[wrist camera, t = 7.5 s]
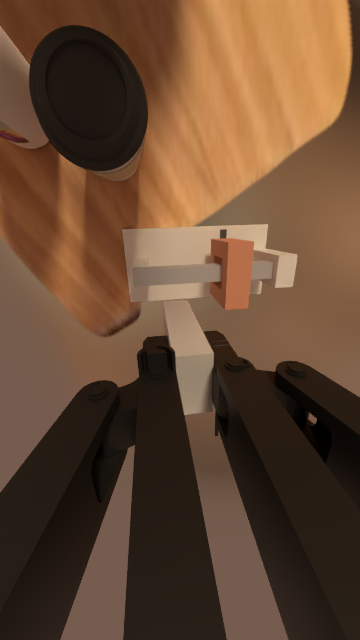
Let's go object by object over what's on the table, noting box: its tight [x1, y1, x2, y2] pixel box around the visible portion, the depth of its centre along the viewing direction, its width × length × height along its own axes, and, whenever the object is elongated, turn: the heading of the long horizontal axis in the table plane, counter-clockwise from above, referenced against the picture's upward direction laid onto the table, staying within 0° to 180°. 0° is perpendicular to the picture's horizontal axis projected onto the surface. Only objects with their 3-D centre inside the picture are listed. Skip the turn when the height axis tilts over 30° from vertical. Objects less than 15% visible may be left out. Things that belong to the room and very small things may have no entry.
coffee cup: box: [29, 25, 148, 181], centre depth 24 cm, size 9×9×15 cm
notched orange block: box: [210, 238, 254, 310], centre depth 31 cm, size 8×3×8 cm, turn 2°
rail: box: [122, 224, 297, 302], centre depth 33 cm, size 11×22×10 cm, turn 92°
